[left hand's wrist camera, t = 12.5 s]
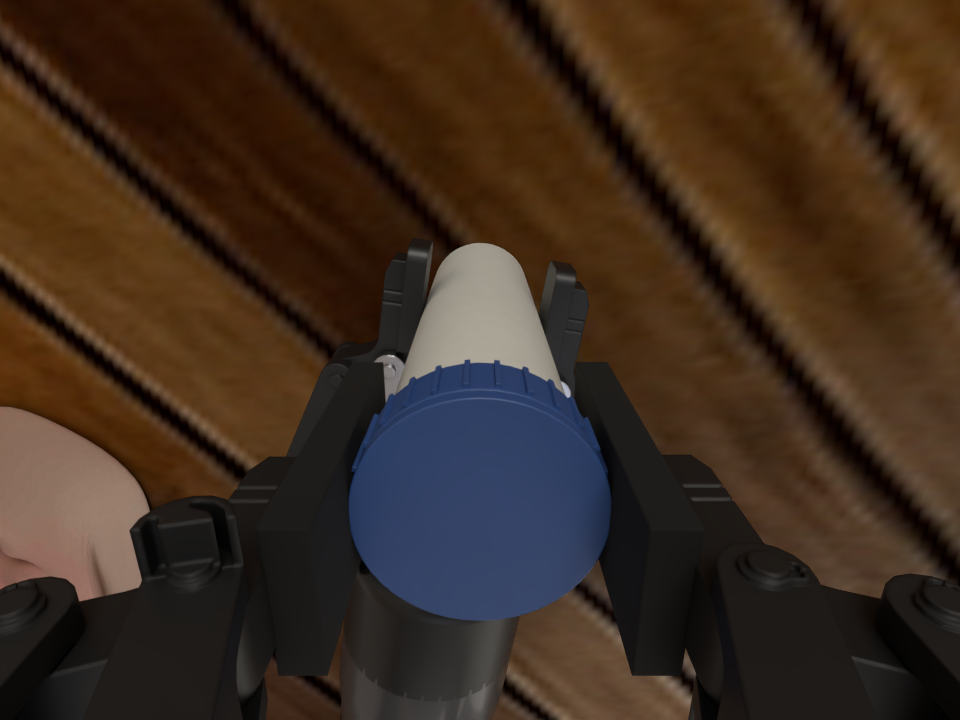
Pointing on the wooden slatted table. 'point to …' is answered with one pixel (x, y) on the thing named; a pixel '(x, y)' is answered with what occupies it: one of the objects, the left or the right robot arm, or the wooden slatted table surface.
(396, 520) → the lid
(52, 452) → the anatomical model
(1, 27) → the wooden slatted table surface
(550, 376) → the white cylindrical bottle
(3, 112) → the wooden slatted table surface
